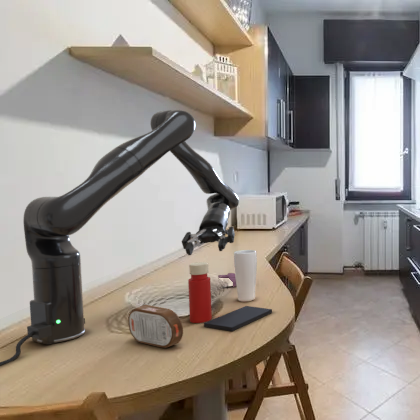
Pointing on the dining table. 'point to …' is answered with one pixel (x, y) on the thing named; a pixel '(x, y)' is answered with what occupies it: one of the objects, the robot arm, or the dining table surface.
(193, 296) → the squeeze bottle
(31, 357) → the dining table surface
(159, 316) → the tin
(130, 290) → the dining table surface
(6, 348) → the dining table surface
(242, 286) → the drinking glass
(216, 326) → the rubber mat
